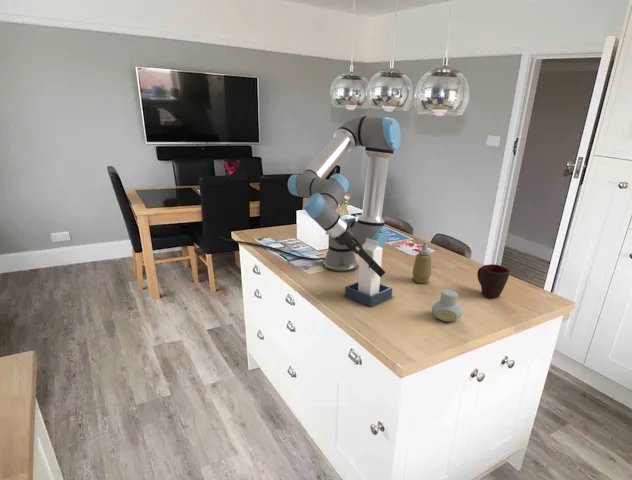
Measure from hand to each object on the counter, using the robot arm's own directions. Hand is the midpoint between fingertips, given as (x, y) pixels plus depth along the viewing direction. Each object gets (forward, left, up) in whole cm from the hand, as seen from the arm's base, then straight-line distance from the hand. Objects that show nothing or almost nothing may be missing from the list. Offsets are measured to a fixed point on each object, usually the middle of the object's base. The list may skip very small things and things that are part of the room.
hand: (378, 270), depth 161 cm
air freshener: (+29, +4, -11) cm, 32 cm away
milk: (-2, -3, -10) cm, 10 cm away
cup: (+30, +37, -11) cm, 49 cm away
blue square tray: (-2, -3, -11) cm, 11 cm away
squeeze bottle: (+3, +27, -11) cm, 30 cm away
